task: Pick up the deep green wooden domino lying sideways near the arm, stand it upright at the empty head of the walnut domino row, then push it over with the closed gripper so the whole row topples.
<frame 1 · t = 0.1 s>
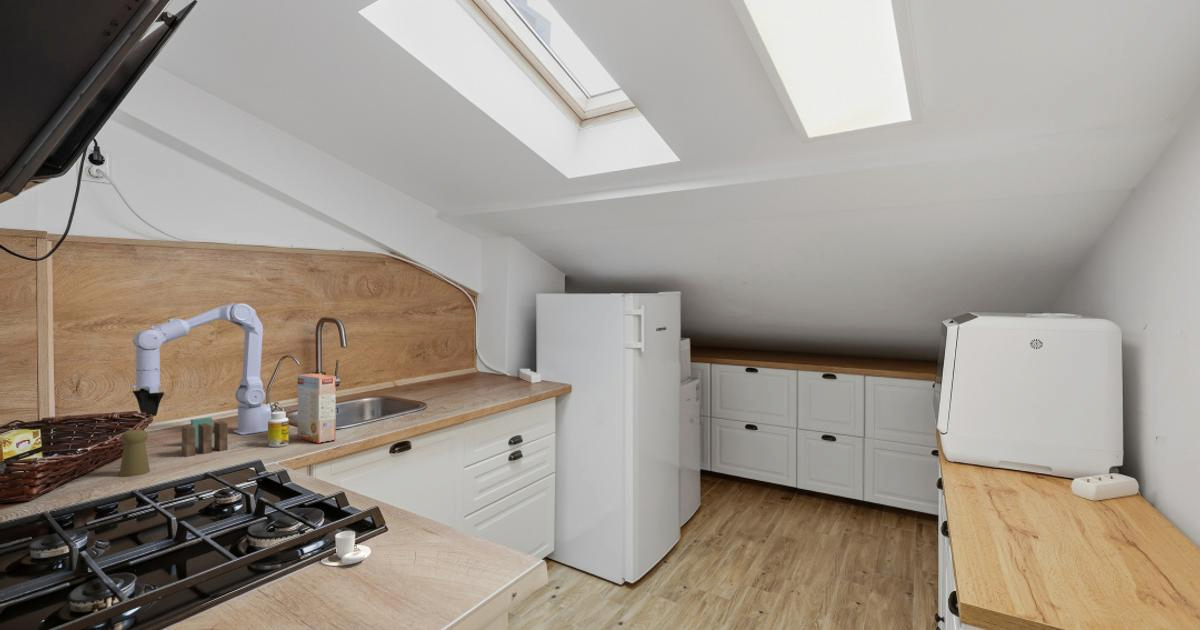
hand: (148, 414, 167), 10 cm above the table, tool pointing down, fingers open, 7 cm apart
domino 2: (220, 449, 165), on the table
supplement bottle: (278, 446, 170), on the table
domino 4: (188, 454, 159), on the table
domino 3: (205, 451, 162), on the table
olive green pepper mill: (134, 473, 142), on the table
domino head: (201, 444, 171), on the table
cracker box: (316, 440, 178), on the table
teacup and saucer: (332, 567, 92), on the table
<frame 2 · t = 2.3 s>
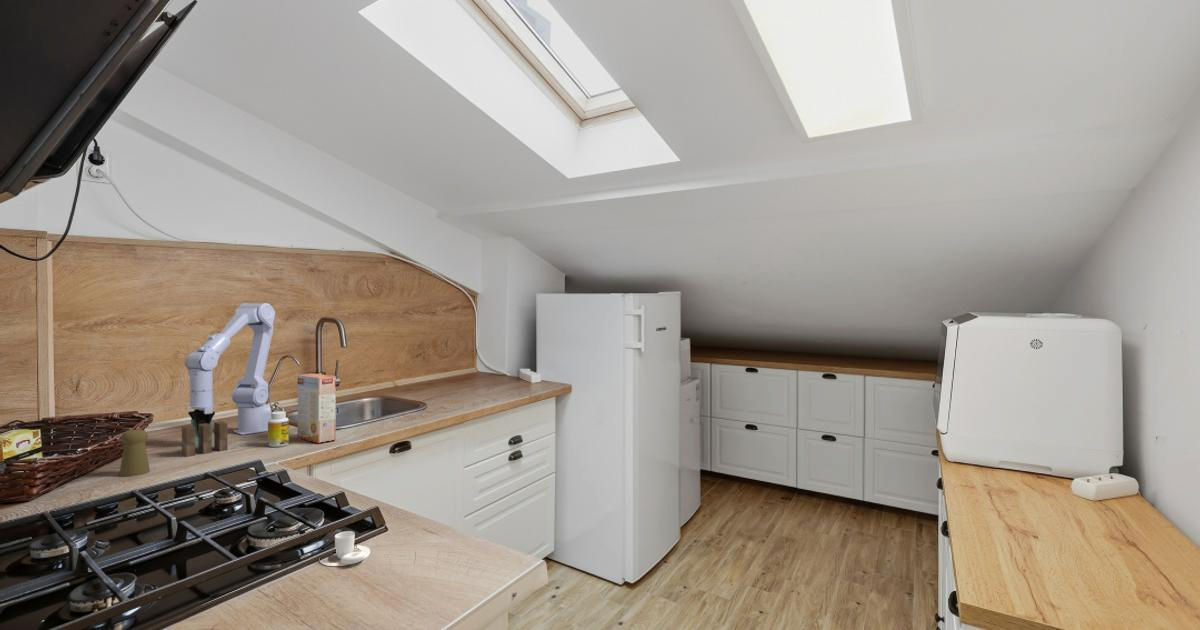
hand: (201, 434, 171), 3 cm above the table, tool pointing down, fingers closed on domino head, 2 cm apart
domino head: (201, 444, 171), on the table, touching gripper
everything else where it was.
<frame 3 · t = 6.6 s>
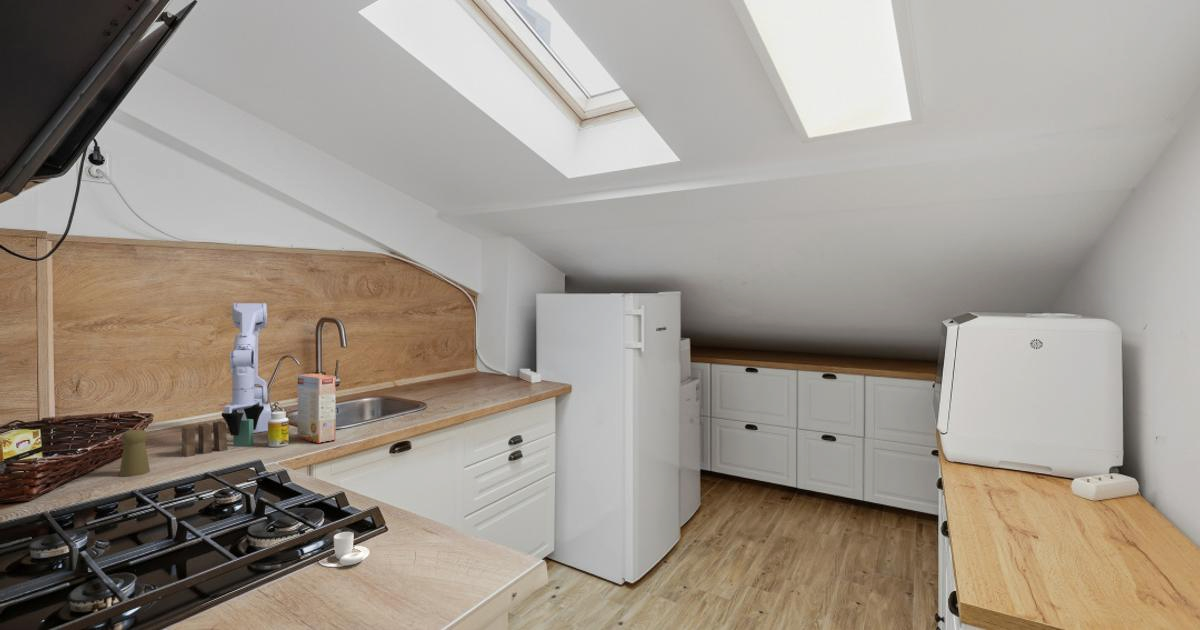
hand: (243, 432, 170), 4 cm above the table, tool pointing down, fingers open, 7 cm apart
domino 2: (220, 449, 165), on the table, touching gripper
domino head: (243, 445, 170), on the table
everything else where it was.
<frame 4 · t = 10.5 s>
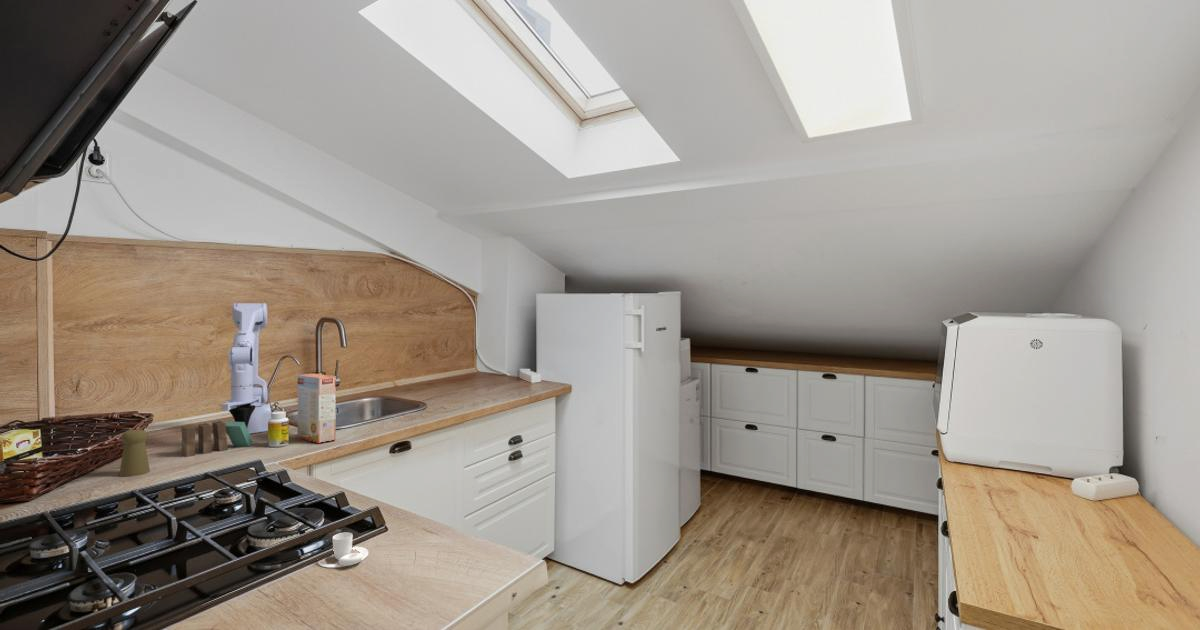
hand: (242, 429, 170), 5 cm above the table, tool pointing down, fingers closed
domino 2: (220, 449, 165), on the table
domino head: (243, 444, 170), on the table, tilted 29°
everything else where it was.
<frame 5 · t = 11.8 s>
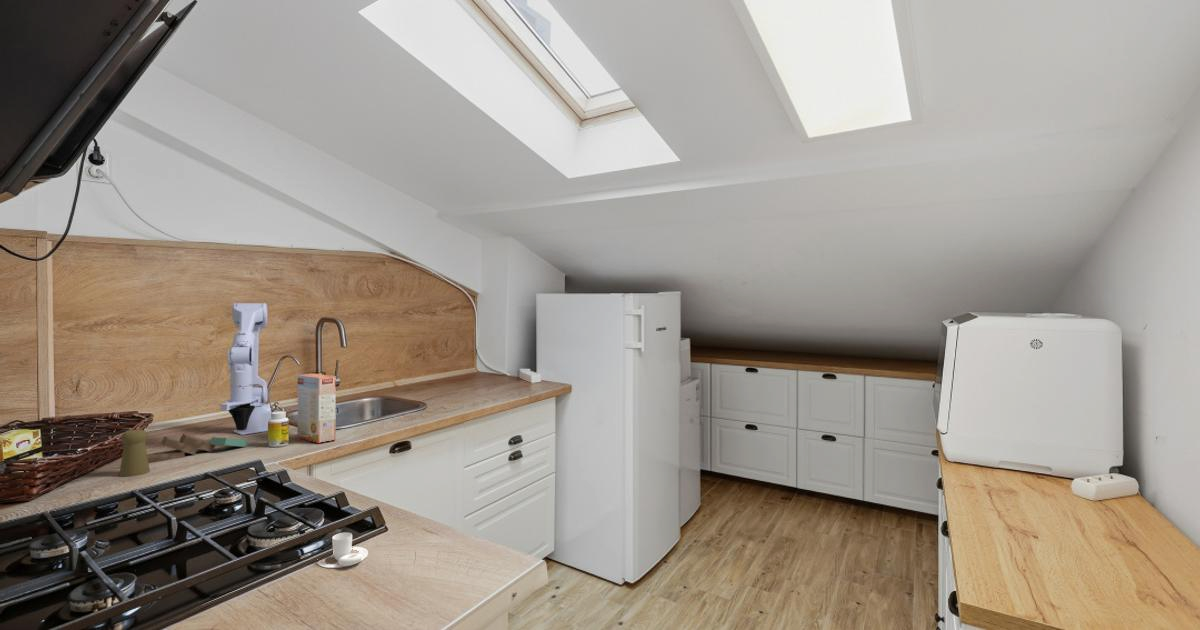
hand: (241, 429, 170), 5 cm above the table, tool pointing down, fingers closed
domino 2: (211, 447, 164), point 1 cm above the table, tilted 60°, touching domino 3, domino head
domino 4: (182, 454, 158), on the table, tilted 90°, touching domino 3
domino 3: (194, 450, 161), point 1 cm above the table, tilted 61°, touching domino 2, domino 4
domino head: (240, 443, 169), point 1 cm above the table, tilted 72°, touching domino 2
everything else where it was.
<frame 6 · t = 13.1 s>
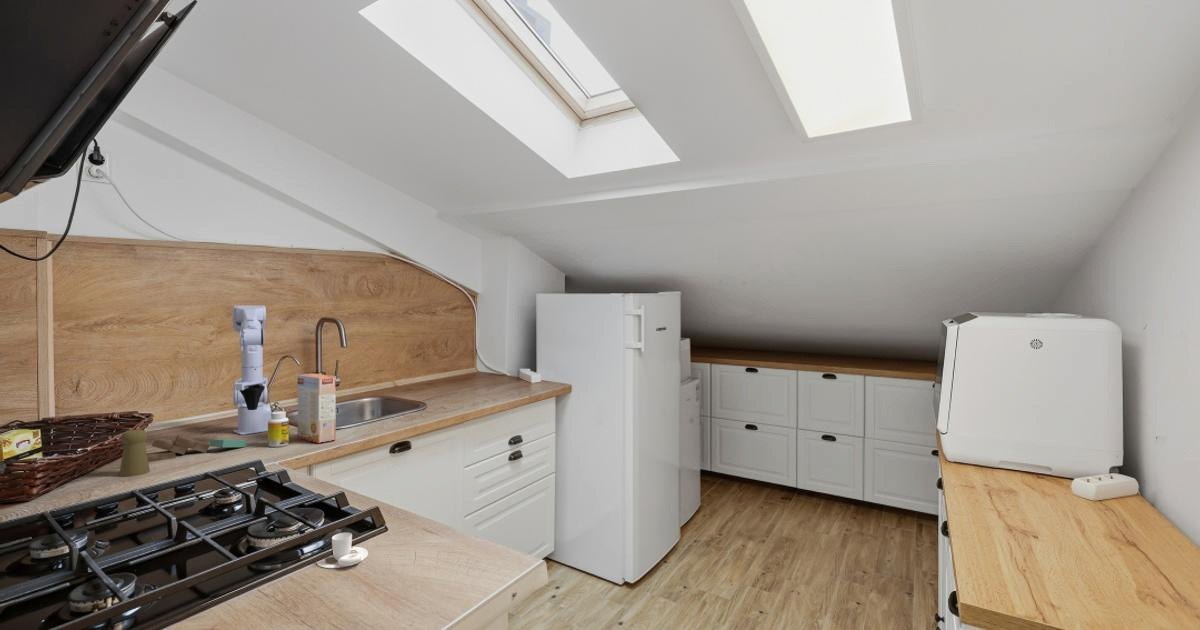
hand: (252, 409, 174), 10 cm above the table, tool pointing down, fingers closed
domino 2: (206, 448, 163), point 1 cm above the table, tilted 62°, touching domino 3, domino head
domino 4: (174, 455, 157), on the table, tilted 90°
domino 3: (186, 449, 160), point 1 cm above the table, tilted 66°, touching domino 2
everything else where it was.
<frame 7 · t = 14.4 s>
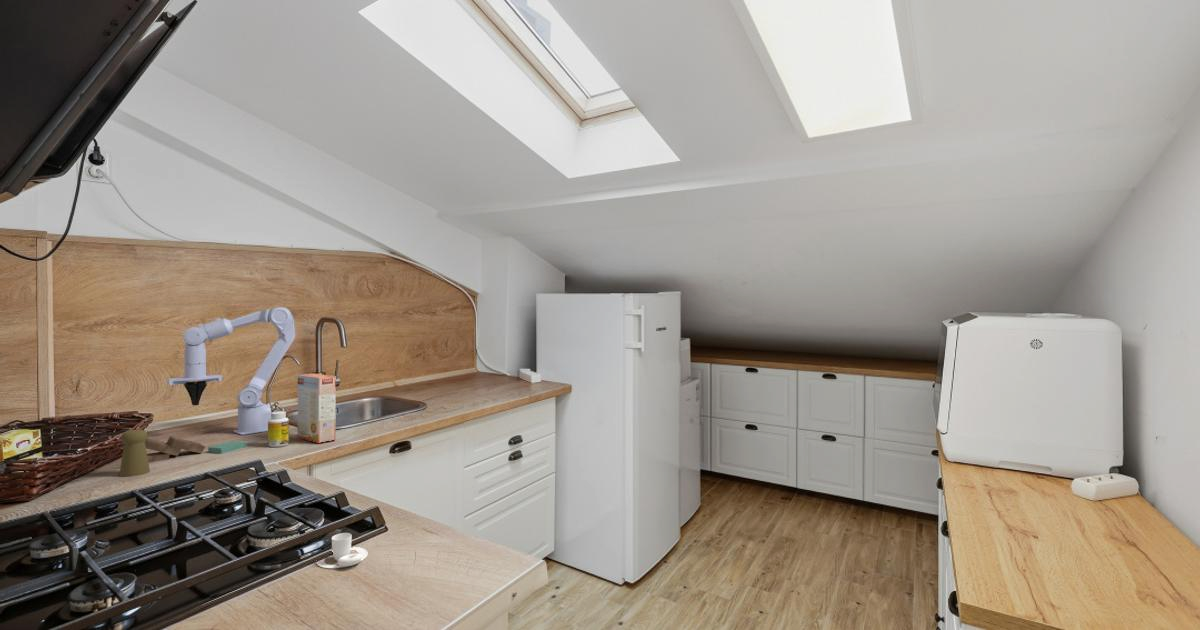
hand: (195, 404, 181), 10 cm above the table, tool pointing down, fingers closed
domino 2: (200, 448, 162), point 1 cm above the table, tilted 64°
domino 4: (167, 456, 156), on the table, tilted 90°
domino 3: (178, 450, 158), point 1 cm above the table, tilted 65°
domino head: (239, 444, 169), point 1 cm above the table, tilted 90°
everything else where it was.
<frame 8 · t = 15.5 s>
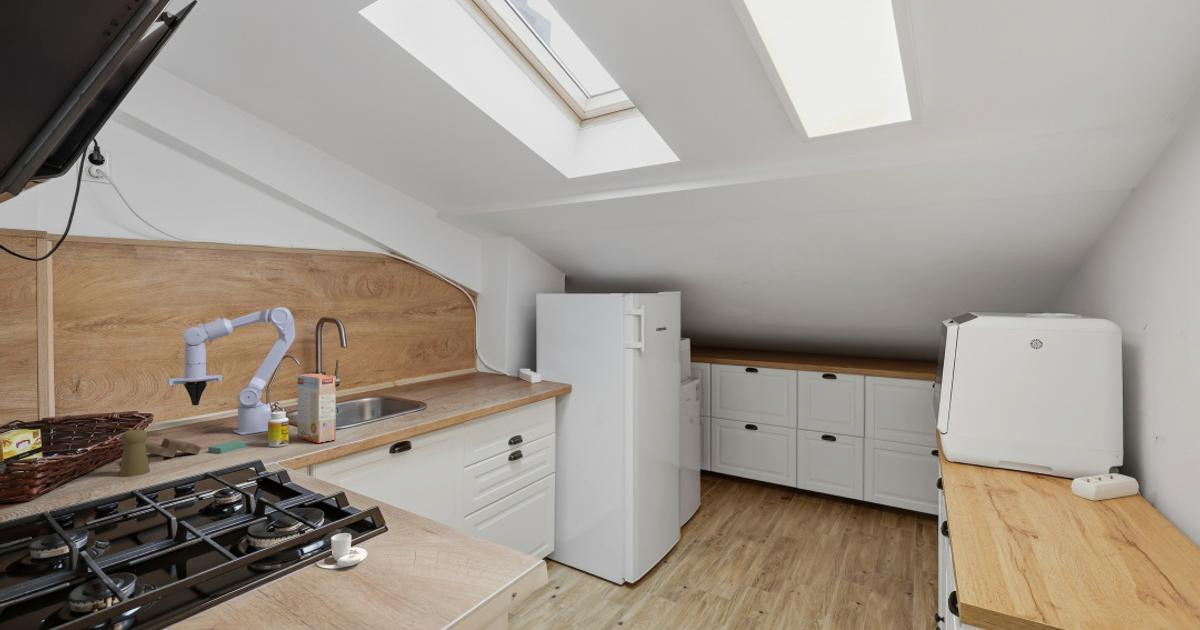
hand: (195, 404, 181), 10 cm above the table, tool pointing down, fingers closed
domino 2: (196, 449, 161), point 1 cm above the table, tilted 66°, touching domino 3
domino 4: (161, 457, 155), on the table, tilted 90°, touching domino 3
domino 3: (172, 452, 157), point 1 cm above the table, tilted 67°, touching domino 2, domino 4
everything else where it was.
at the end: domino head inside the target area (0.9 cm from its centre), point 0.5 cm above the table; domino head tilted 90°; domino 4 tilted 90° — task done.
